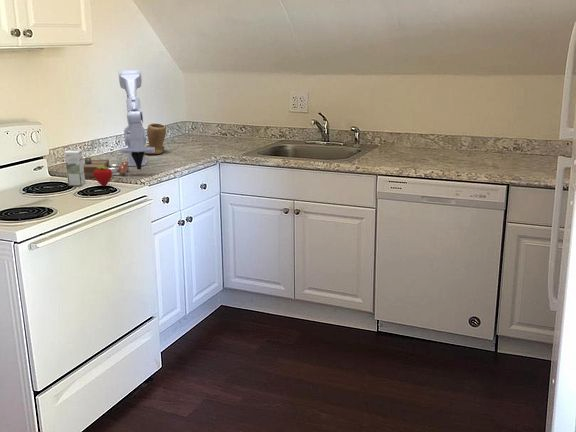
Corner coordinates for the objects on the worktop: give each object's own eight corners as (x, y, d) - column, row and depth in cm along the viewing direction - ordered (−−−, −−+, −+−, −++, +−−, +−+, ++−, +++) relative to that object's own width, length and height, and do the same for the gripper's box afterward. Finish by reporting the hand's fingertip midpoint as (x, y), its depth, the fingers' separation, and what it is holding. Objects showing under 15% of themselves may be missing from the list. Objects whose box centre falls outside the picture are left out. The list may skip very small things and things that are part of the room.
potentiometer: (85, 163, 285) (84, 155, 284) (92, 162, 285) (91, 154, 284) (84, 164, 282) (83, 156, 281) (90, 164, 283) (90, 156, 281)
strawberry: (95, 185, 267) (92, 161, 264) (113, 184, 268) (111, 160, 265) (93, 188, 261) (91, 164, 258) (113, 187, 263) (110, 163, 260)
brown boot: (166, 155, 323) (164, 125, 319) (142, 156, 323) (139, 126, 319) (170, 149, 338) (168, 121, 334) (147, 150, 337) (145, 121, 333)
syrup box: (85, 182, 271) (82, 148, 267) (82, 186, 266) (78, 151, 261) (72, 182, 271) (68, 149, 267) (68, 186, 266) (63, 151, 261)
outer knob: (100, 173, 284) (99, 165, 283) (126, 173, 285) (125, 164, 284) (98, 176, 280) (97, 167, 279) (125, 175, 281) (124, 166, 280)
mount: (89, 170, 292) (88, 160, 291) (109, 170, 293) (108, 159, 291) (82, 178, 278) (81, 167, 276) (103, 178, 279) (102, 166, 277)
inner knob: (103, 170, 291) (102, 161, 290) (128, 169, 292) (128, 160, 290) (101, 172, 287) (100, 163, 286) (127, 171, 288) (126, 162, 287)
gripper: (118, 140, 274) (121, 171, 278) (152, 139, 276) (155, 170, 280) (120, 137, 281) (123, 167, 285) (154, 136, 282) (156, 166, 286)
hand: (139, 169), depth 283 cm, fingers closed
